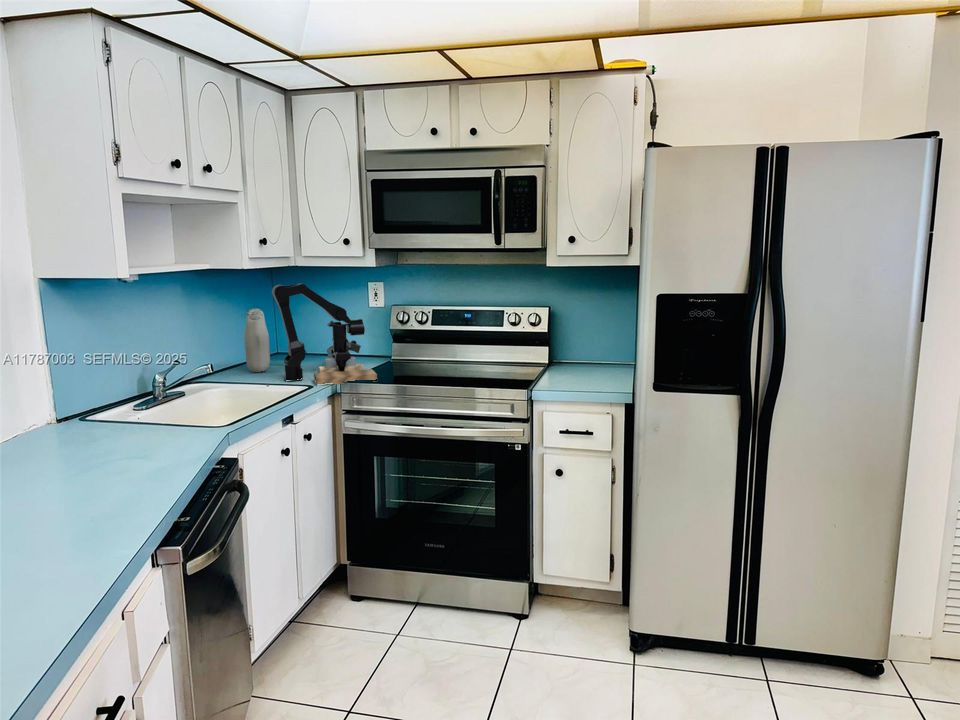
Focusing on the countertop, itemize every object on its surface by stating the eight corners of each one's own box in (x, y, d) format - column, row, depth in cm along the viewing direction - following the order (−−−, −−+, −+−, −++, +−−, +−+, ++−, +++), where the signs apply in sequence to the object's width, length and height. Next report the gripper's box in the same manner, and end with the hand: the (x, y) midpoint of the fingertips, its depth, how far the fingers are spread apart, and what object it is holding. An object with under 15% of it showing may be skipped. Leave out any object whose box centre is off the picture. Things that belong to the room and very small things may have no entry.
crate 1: (326, 368, 290) (326, 359, 290) (325, 366, 294) (325, 358, 294) (336, 367, 292) (336, 359, 291) (335, 365, 295) (335, 357, 295)
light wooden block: (320, 378, 290) (320, 368, 289) (319, 375, 295) (318, 366, 294) (363, 375, 295) (363, 365, 295) (361, 372, 300) (361, 363, 300)
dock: (317, 385, 275) (316, 378, 274) (314, 380, 285) (313, 373, 285) (377, 381, 282) (376, 373, 282) (372, 376, 293) (372, 369, 292)
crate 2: (346, 366, 293) (345, 358, 292) (345, 365, 297) (344, 357, 296) (355, 366, 294) (355, 357, 294) (354, 364, 298) (354, 356, 297)
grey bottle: (243, 371, 306) (239, 308, 301) (266, 368, 312) (262, 306, 307) (251, 375, 298) (246, 310, 293) (274, 372, 304) (270, 308, 299)
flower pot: (327, 368, 312) (326, 348, 310) (332, 364, 321) (331, 345, 319) (346, 368, 312) (345, 348, 310) (350, 364, 320) (349, 345, 319)
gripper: (362, 338, 286) (363, 375, 289) (355, 332, 303) (356, 367, 306) (335, 339, 282) (337, 377, 285) (329, 334, 300) (331, 369, 302)
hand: (341, 372), depth 295 cm, fingers closed on light wooden block, 5 cm apart
